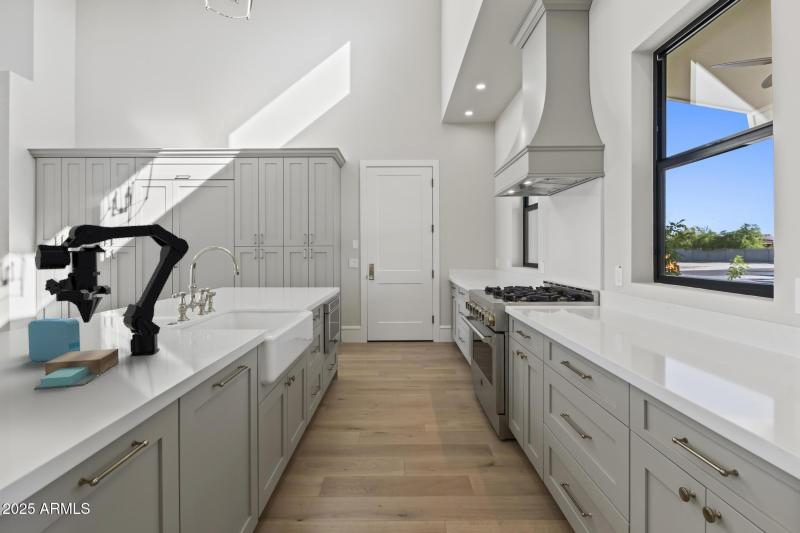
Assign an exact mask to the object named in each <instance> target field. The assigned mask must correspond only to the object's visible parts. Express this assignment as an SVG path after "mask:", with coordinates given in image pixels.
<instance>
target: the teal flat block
mask: <svg viewBox="0 0 800 533" xmlns="http://www.w3.org/2000/svg"><path fill="white" fill-rule="evenodd" d="M88 374H89V367H88V366H85V367H70V368H60V369H59V370H57V371H55V372H53V373H51V374H49V375H47V376H46V375H45V376H43V377H41V378H40V381H39V382H40V383H39V385H40V386H41V387H49V386H62V385H71V384H73V383H74V382H76V381H78V380H79V379H81V378H83V377H84V376H86V375H88Z"/></svg>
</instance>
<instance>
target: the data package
mask: <svg viewBox="0 0 800 533" xmlns="http://www.w3.org/2000/svg"><path fill="white" fill-rule="evenodd" d="M27 329H28V330H27V332H28V335H27V336H28V356H29V359H30V360H31V361H33V362H48V361H51V360H53V359H55V358H57V357H59V356H61V355H63V354H66V353H68V352H74V351H81V336H80V332H81V330H80V321H79V320H78V319H76V318H42V319H37V320H31V321H30V322H29V323H28V326H27Z"/></svg>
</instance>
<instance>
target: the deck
mask: <svg viewBox="0 0 800 533" xmlns="http://www.w3.org/2000/svg"><path fill="white" fill-rule="evenodd" d="M119 360H120V359H119V348H107V349H91V350H80V351H74V352H68V353H66V354H63V355H61V356H59V357H57V358H55V359H53V360H51V361H45V363H44V366H45V368H44V369H45V376H47V375H49V374H51V373H53V372H55V371H57V370H59V369H60V368H70V367H85V366H88V367H89V374H91V373H102V372H103V371H105V370H106V369H108V368H109V367H111V366H112V367H114V366H115V365H116V363H117V364H119V362H120V361H119ZM114 364H115V365H114ZM113 365H114V366H113ZM112 367H111V368H112ZM109 369H110V368H109ZM109 369H108V370H109ZM106 371H107V370H106ZM106 371H105V372H106ZM103 373H104V372H103ZM103 373H102V374H103Z"/></svg>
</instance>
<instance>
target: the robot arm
mask: <svg viewBox="0 0 800 533" xmlns="http://www.w3.org/2000/svg"><path fill="white" fill-rule="evenodd" d="M141 237H149V238H151V239H152V240H153V242H155V244H156V245H158V246H159V247H160V251H159V262H158V263H157V265H156V267H155V268H154V271H153V272H152V275H151V277H150V278H149V281H148V282H147V285H146V287H145V289H144V290H143V292H142V295H141V296H140V297H139V300H137V301H136V302H135V304H132V303H128V305H127V308H126V311H125V312H123V314H122V317H123V320H122V322H123V325H124V326H125V327H126V328H128V329H129V330H130V333H131V334H132V335H131V339H130V344H129V345H130V356H145V355H155V354H156V353H157V352H158V351H160V347H159V345H158V343H159V342H158V335H159V333H160V330H161V327H160V326H159V325H157V324H156V323H155V322H153V319H154V317H155V306H156V303H157V301H158V299H159V297H160V295H161V293H162V291H163V289H164V287H165V285H166V284H167V281H168V279H169V278H170V276H171V273H172V272H173V269H174V268H175V266H176V265H177V264H178V263H179V262H180V261H182V259H184V257H185V255H186V254H187V252H188V251H189V249H190V245H189V243H188V242H187V240H186V239H184V238H182V237H178V235H176V234H175V233H172V231H171V232H170V231H169V230H167V229H165V228H164V227H163V226H161V225H160V224H159V223H150V224H141V225H126V226H104V225H99V224H98V225H97V224H79V225H75V226H73V227H71V228H70V229H69V231H68V236H67V238H65V239H64V241H63V242H62V243H61V244H60V245H58V244H57V245H55V244H54V245H51V244H37V246H36V251H35V256H34V265H35V267H36V270H37V271H38V270H39V271H41V270H42V271H43V270H46V271H49V270H65V269H66V268H67V267H68V266H70V265H71V271H70V272H68V273H67V278H64V279H60V280H58V279H57V278H55V277H53V278H50V279H47V280H46V282H45V285H44V286H45V288H44V290H45V291H48V292H49V294H50V295H51V296H54V295H55V300H56V302H68V303H71V304H73V305H75V306H76V309H77V310H78V313H79V315H80V317H81V319H82V322H83V323H85V324H86V323H87V324H88V323H89V322H90V321H91V320H92V318H93V316H94V314H95V311H96V310H97V308H98V306H99V304H100V302H101V300H102V299H103V297H104V296H105V295H111V294H112V292H111V290H112V288H111V287H110V285H107V284H102V285H101V284H99V282H98V280H99V279H98V276H100V275H101V271H98V253H101V254H102V253H106V249H104V248H103V247H101V245H100V244H99V243H102V242H106V241H109V240H114V239H115V240H117V239H126V238H127V239H128V238H141ZM86 245H87V246H86ZM89 245H93V246H89ZM69 249H78V250H69ZM98 295H104V296H98Z"/></svg>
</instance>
